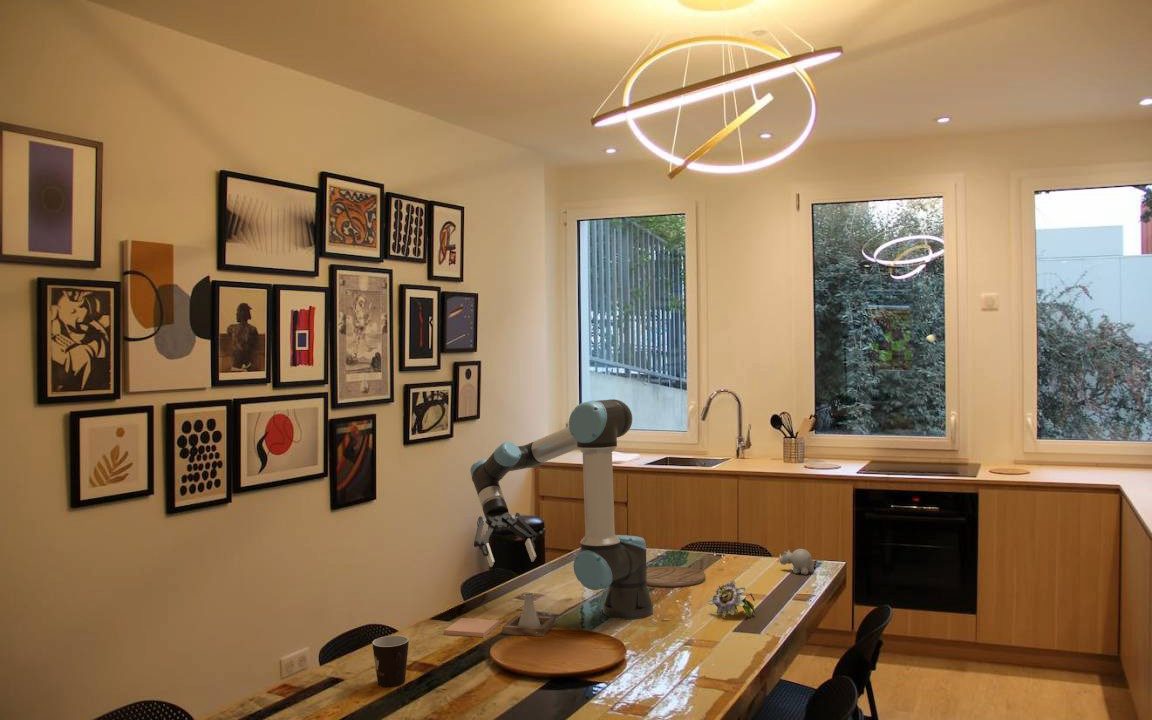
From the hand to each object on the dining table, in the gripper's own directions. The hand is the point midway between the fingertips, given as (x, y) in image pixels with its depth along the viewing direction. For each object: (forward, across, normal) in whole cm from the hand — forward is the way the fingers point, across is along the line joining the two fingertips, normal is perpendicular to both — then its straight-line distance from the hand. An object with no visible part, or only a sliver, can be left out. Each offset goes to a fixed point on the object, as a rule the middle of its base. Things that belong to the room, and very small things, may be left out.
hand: (513, 561), depth 263 cm
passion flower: (+34, -57, +11) cm, 67 cm away
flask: (+21, +1, -3) cm, 21 cm away
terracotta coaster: (+15, +15, -9) cm, 23 cm away
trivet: (+2, -65, -22) cm, 69 cm away
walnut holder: (+21, +1, -3) cm, 21 cm away
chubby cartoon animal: (+13, -108, -10) cm, 109 cm away
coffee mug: (+37, +48, +13) cm, 62 cm away
